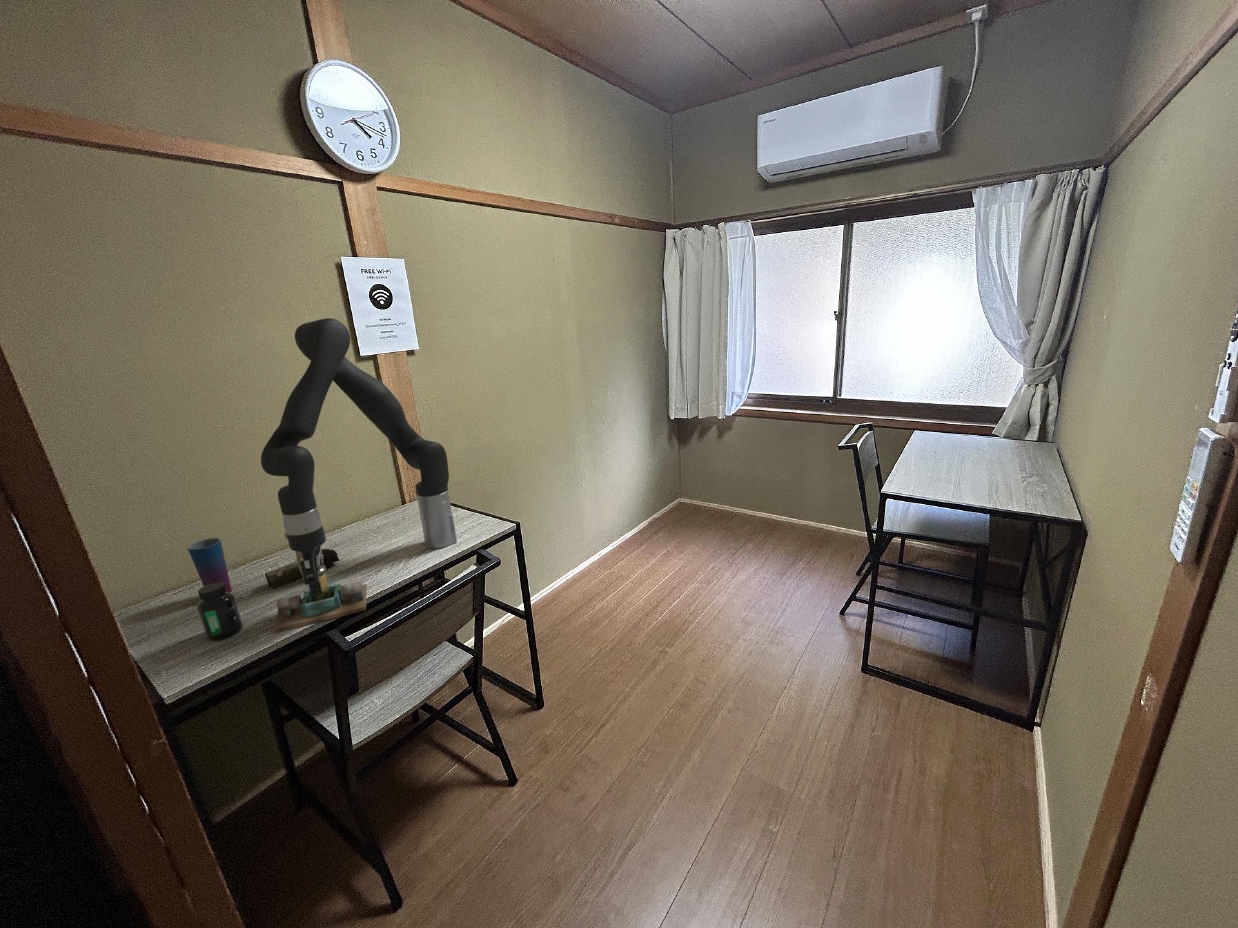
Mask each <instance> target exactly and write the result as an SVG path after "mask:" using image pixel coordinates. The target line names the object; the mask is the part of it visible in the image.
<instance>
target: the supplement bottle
mask: <svg viewBox="0 0 1238 928" xmlns="http://www.w3.org/2000/svg"><path fill="white" fill-rule="evenodd" d="M226 591H227V590H226V588H225V585H224V583H221V582H217V583H212V584H209V585H206V586H202V587H200V588H199V589H198V590H197V593H198V598H199V599H200V600H199V602H198V603H197V606H196V609H197V612H198V615H199V618H200V619H199V620H200V622H201V624H202V627H203V631H204V633H205V635H206V638H207V639H208V640H209V641H212V642H213V641H214V642H216V641H217V642H218V641H223V640H225V639H229V638H231V637H233V636H235V635H236V634H238V633H239V632H240V631H241V630H242V629H243V627H244V624H243V620H242V618H241V614H240V610H239V608H238V604H237V601H236V598H235V596H234V594H233V593H232V592H231V593H230V592H226Z"/></svg>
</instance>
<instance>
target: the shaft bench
mask: <svg viewBox="0 0 1238 928" xmlns="http://www.w3.org/2000/svg"><path fill="white" fill-rule="evenodd" d="M328 585H329V584H328ZM367 588H368V587H367V584H366V583H364V584H363V582H362V580H360V581H356V582H352V583H347V584H343V585H341V583H338V584H336V583H335V584H333V583H332V584H330V585H329V589H330V593H331V597H332V598H328V599H324V600H320V601H315V602H313V600H312V596H311V592H310V589H309V590H307V591H304V593H303V597H302V595H300V594H298V595H294V596H290V597H285V598H281V599H277V601H276V608H277V615H278V619H277V622H276V625H275V627H274V630H275V633H280V632H284V631H288V630H292V629H297V628H300V627H303V626H305V627H306V626H308V625H312V624H316V623H320V622H324V621H328V620H332V619H336V618H341V617H344V616H348V615H353V614H357V613H360V612H363V611H366V610H367V595H368V594H367V592H368V591H367V590H368V589H367Z"/></svg>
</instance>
